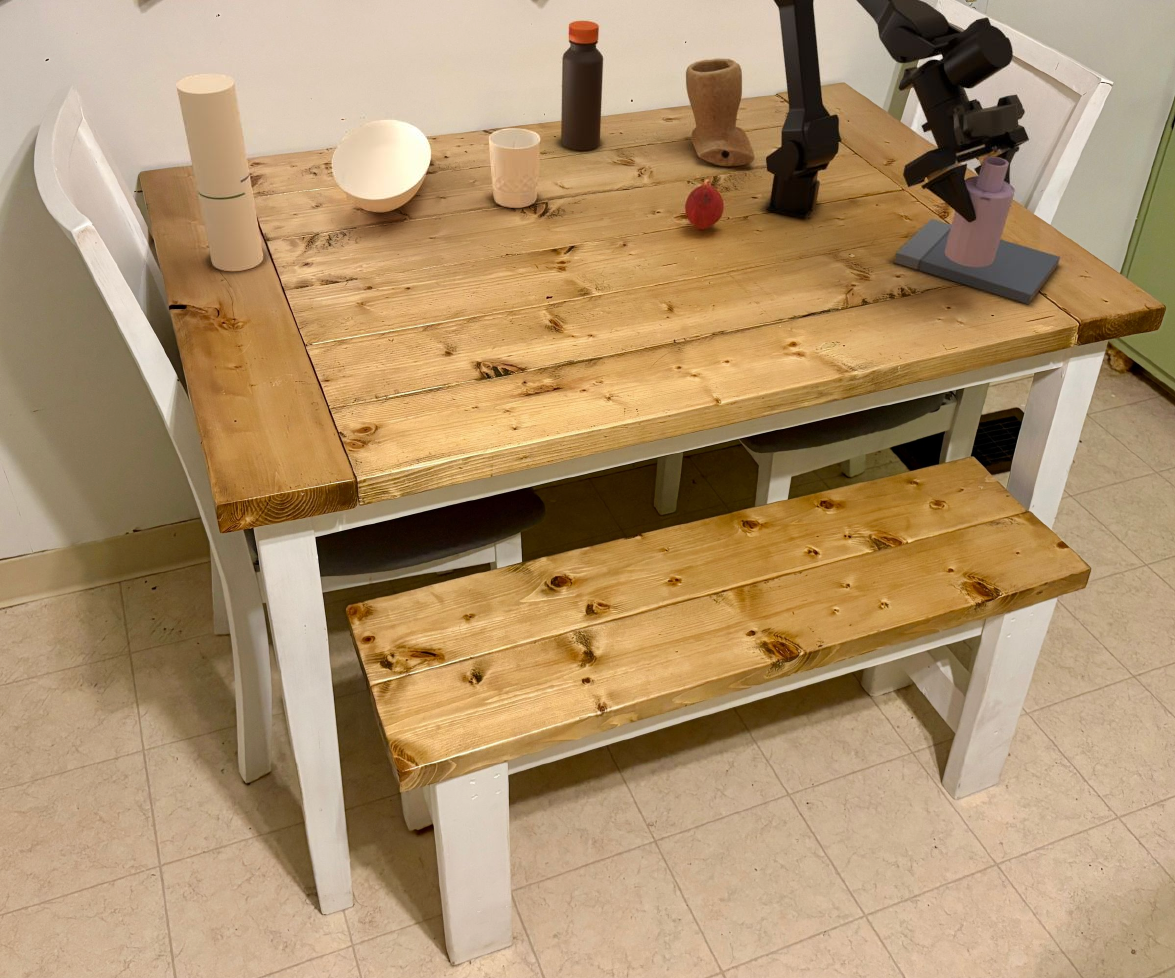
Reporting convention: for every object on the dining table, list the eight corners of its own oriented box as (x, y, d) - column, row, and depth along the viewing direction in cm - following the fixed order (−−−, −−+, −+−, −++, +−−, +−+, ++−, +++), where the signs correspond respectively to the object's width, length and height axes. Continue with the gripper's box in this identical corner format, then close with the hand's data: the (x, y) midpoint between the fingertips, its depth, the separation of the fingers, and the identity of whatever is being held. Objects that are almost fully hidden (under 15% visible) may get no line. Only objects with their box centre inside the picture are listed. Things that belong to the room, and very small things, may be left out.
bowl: (428, 237, 167) (426, 199, 163) (326, 237, 166) (321, 199, 162) (436, 155, 190) (434, 119, 186) (346, 154, 189) (342, 119, 185)
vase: (941, 260, 152) (967, 166, 144) (947, 240, 157) (973, 147, 148) (991, 271, 151) (1020, 176, 142) (996, 249, 155) (1024, 156, 147)
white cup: (481, 204, 176) (479, 142, 170) (503, 184, 182) (502, 124, 176) (527, 214, 174) (527, 151, 168) (548, 194, 180) (548, 133, 173)
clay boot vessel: (677, 133, 201) (684, 48, 191) (743, 135, 201) (754, 50, 191) (683, 169, 189) (692, 79, 179) (754, 170, 189) (766, 81, 180)
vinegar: (586, 154, 192) (589, 34, 179) (553, 145, 195) (554, 26, 182) (607, 142, 197) (612, 24, 184) (575, 132, 199) (577, 15, 187)
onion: (718, 240, 169) (724, 190, 164) (680, 235, 170) (685, 186, 165) (722, 223, 174) (728, 174, 169) (685, 219, 175) (690, 170, 169)
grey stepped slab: (894, 262, 166) (896, 252, 165) (928, 228, 175) (931, 218, 174) (1028, 304, 157) (1031, 294, 156) (1057, 266, 167) (1060, 255, 166)
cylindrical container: (272, 252, 162) (245, 78, 146) (245, 275, 157) (213, 96, 141) (229, 243, 164) (197, 70, 148) (201, 265, 158) (164, 88, 142)
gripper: (942, 89, 137) (990, 208, 137) (1038, 62, 146) (1083, 174, 146) (881, 129, 147) (926, 240, 147) (974, 102, 156) (1016, 207, 156)
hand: (990, 214), depth 149 cm, fingers closed on vase, 7 cm apart
